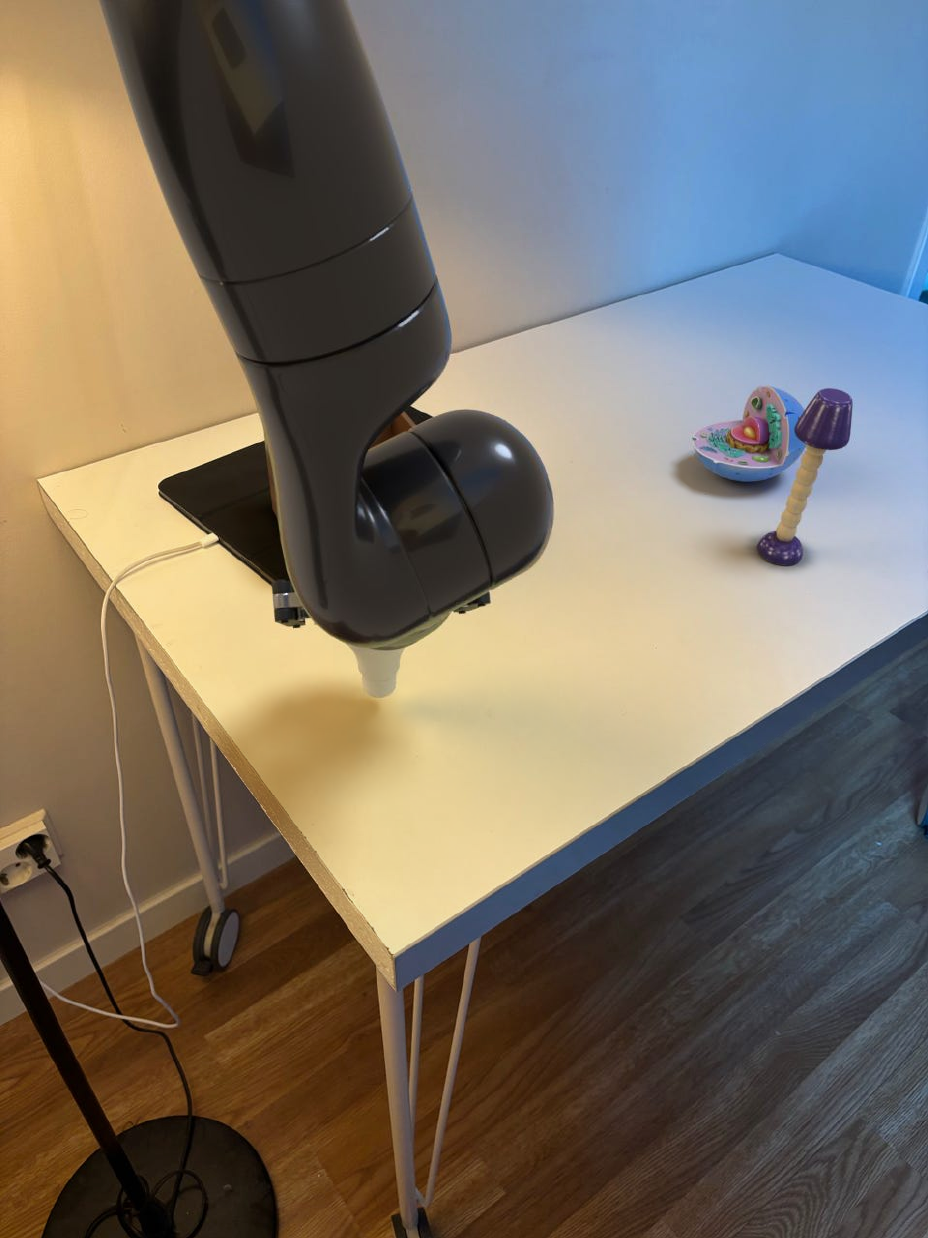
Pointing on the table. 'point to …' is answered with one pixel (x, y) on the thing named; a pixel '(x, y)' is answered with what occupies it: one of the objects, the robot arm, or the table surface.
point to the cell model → (753, 438)
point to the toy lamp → (809, 468)
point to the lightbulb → (378, 669)
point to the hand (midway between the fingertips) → (375, 607)
